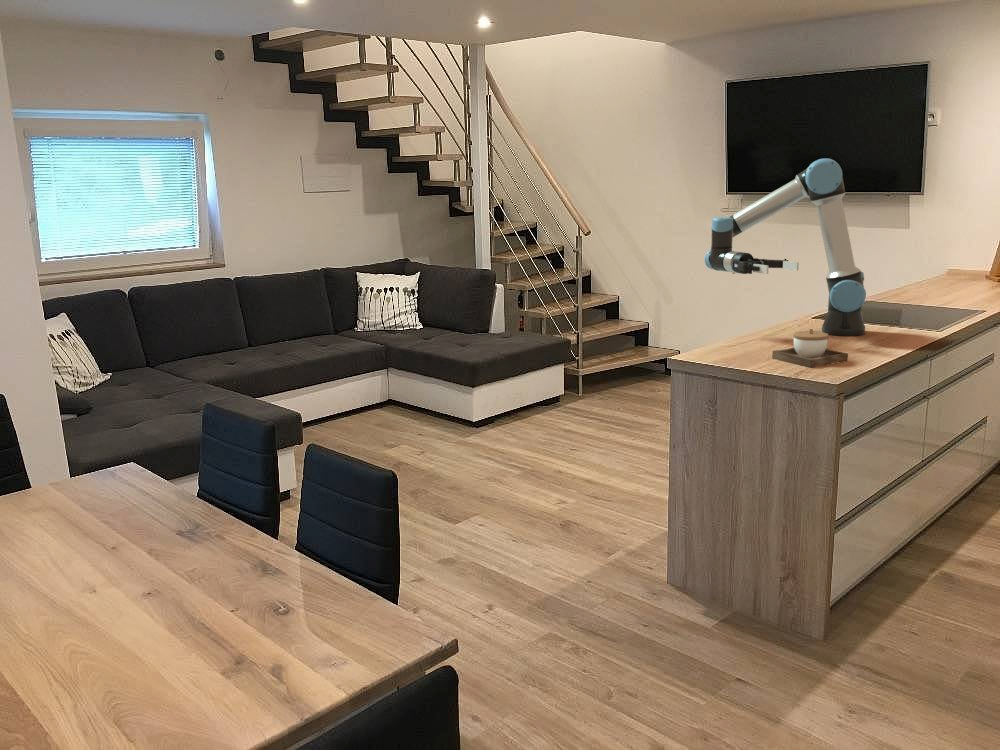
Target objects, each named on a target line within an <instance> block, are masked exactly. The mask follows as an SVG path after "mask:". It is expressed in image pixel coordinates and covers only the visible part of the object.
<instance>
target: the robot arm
mask: <svg viewBox="0 0 1000 750" xmlns="http://www.w3.org/2000/svg"><path fill="white" fill-rule="evenodd" d="M845 195H846V189H845V184H844V178H843V169H842V168H841V165H840V164H839V163H838V162H837V161H836V160H834V159H832V158H826V157H824V158H819V159H816V160H815V161H813V162H811V163H810V164H809V166H808V167H807V168H806V169H804V170H803V171H801V172H799V173H798V174H796V175H795V178H794V179H792V180H791V181H789V182H788V183H786V184H784V185H782V186H780V187H779V188H777V189H775V190H773V191H771V192H770V193H768V194H767V195H764V196H763V197H762V198H759V199H758V200H756V201H754V202H752V203H751V204H749V205H748V206H747V205H746V207H744V208H741V209H740V210H739V211H737V212H735V213H734V214H732V215H730V216H719V217H713V218H712V221H711V226H710V227H711V228H710V229H711V245H710V246H711V247H710V249H709V250H708V251H707V252H706V253H705V256H704V263H705V266H706V267H707V268H709V269H711V270H714V271H719V272H728V273H732V275H735V274H742V275H747V274H748V275H749V274H750V275H752V274H753V273H756V274H757V273H759V274H764V275H766V274H767V275H768V274H769V269H783V270H789V271H795V272H797V271H799V265H800V264H799V263H800V262H799V261H797V262H796V261H789V259H787V258H784V259H767V258H766V259H765V258H758V257H757V258H756V257H754V256H753V255H752V254H751V253H750V252H741V251H734V250H733V239H734V237H737V236H738V235H740V234H742V233H743V232H745V231H747V230H748V229H751V228H752V227H754V226H755V225H757V224H759V223H761V222H763V221H765V220H767V219H769V218H770V217H772V216H774V215H775V214H776V215H777V213H779V212H781V211H783V210H785V209H787V208H788V207H790V206H792V205H794V204H795V203H797V202H799V201H801V200H802V199H805V198H808V199H809V200H810V203H811V204H813V205H815V206H816V211H817V217H818V221H819V225H820V226H819V227H820V231H821V237H822V242H823V246H824V250H825V256H826V257H825V258H826V261H827V266H828V273H827V274H826V276H825V279H826V284H827V289H828V303H827V313H826V315H825V317H824V321H823V323H822V324H821V332H824V333H827V334H828V335H832V336H840V335H842V337H844V336H845V337H846V336H847V337H848V336H849V337H853V336H862V335H864V334H866V325H865V323H864V322H865V321H864V318H863V313H862V307H863V304H864V303H865V300H866V298H867V291H866V289H865V286H864V281H865V277H864V276H865V275H864V272H863V271H862V270H861V268H859V267H856V265H855V259H854V255H853V249H852V244H851V239H850V233H849V229H848V224H847V218H846V212H845V209H844V204H843V198H844V197H845ZM843 335H844V336H843Z"/></svg>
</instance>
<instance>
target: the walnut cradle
mask: <svg viewBox="0 0 1000 750" xmlns="http://www.w3.org/2000/svg"><path fill="white" fill-rule="evenodd" d="M848 357H849V353H846V352H844V351H843V352H842V351H837V350H833V349H830V348H826V350H825V352H824V353H823V354H822V355H821V356H820V357H818V358H813V359H809V358H805V357H801V356H799V355H798V354H797V353H796V351H795V349H794V347H788V348H784V349H783V348H782V349H776V350H772V359H774V360H778V361H781V362H786V363H790V364H792V365H798V366H802V367H805V368H811V367H812V368H817V367H822V365H823V366H828V365H827V364H829V365H833V364H832V363H835V364H838V363H837V362H840V363H844V362H843V361H846V362H848V360H849V359H848ZM816 366H817V367H816Z"/></svg>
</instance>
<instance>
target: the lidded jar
mask: <svg viewBox="0 0 1000 750" xmlns="http://www.w3.org/2000/svg"><path fill="white" fill-rule="evenodd" d="M792 334H793V348H794V349H795V351H796V353H797V354H798V355H799V356H801V357H805V358H809V359H813V358H818V357H820V356H821V355H822V354H823V353H824V352H825V350H826V349H827V346H828V342H829V341H828V339H829V334H827V333H824V332H822V331H816V330H814V329H813V328H809V330H801V331H795V332H793V333H792Z"/></svg>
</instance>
